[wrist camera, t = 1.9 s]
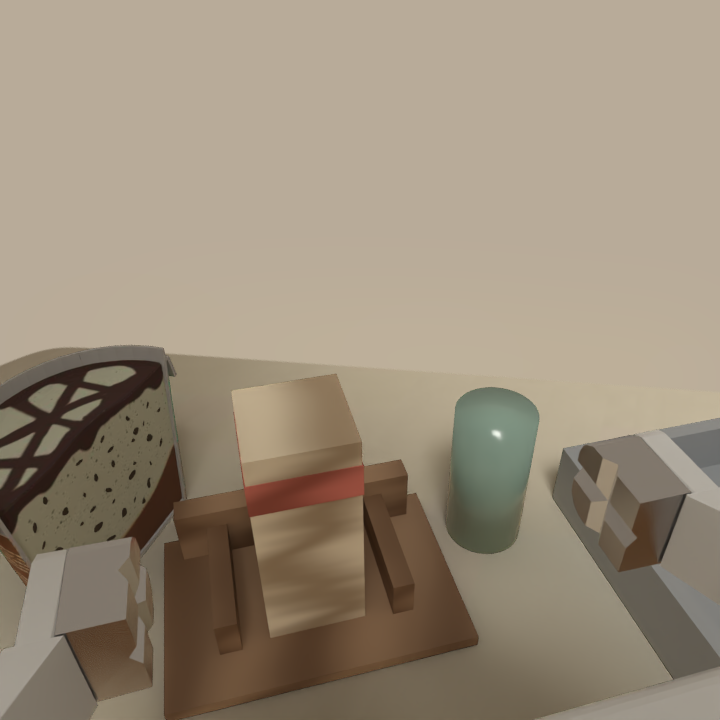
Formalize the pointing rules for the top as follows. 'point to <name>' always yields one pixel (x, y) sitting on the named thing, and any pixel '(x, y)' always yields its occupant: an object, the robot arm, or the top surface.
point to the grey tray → (659, 568)
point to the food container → (87, 452)
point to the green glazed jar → (490, 468)
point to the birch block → (303, 500)
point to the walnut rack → (312, 646)
